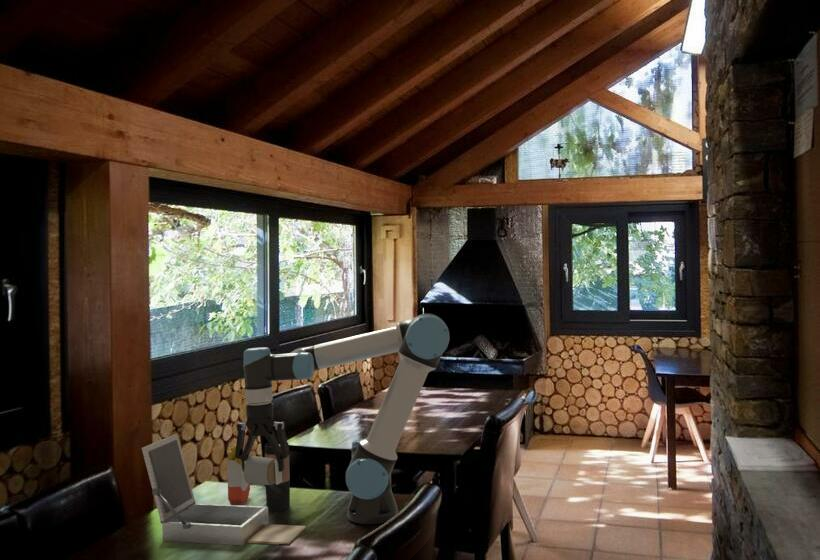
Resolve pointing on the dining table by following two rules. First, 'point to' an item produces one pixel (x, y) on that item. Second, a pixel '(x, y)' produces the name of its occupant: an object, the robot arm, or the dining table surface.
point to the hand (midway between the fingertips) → (264, 482)
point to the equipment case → (182, 508)
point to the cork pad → (277, 534)
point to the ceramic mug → (260, 470)
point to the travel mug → (278, 485)
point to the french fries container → (236, 479)
